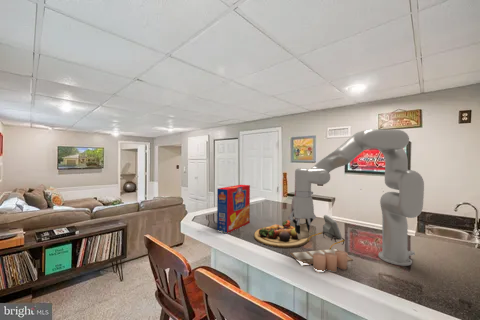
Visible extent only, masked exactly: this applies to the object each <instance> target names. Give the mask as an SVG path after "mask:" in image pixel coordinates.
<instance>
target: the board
mask: <svg viewBox="0 0 480 320" xmlns="http://www.w3.org/2000/svg"><path fill="white" fill-rule="evenodd" d="M337 250H338V249H337V248H331V249H330V248H329V249H319V250H309V251H308V250H307V251H298V252H297V251H296V252H289V255H290V254H291V255H292V256H293V257H294V258H296V259H298V260H300V261H302V262H303V263H308V264H313V254H314V253H321V254H324V253H327V252H330V253H334V254H335V251H337ZM291 255H290V256H291ZM292 256H291V257H292ZM293 257H292V258H293ZM294 258H293V259H294ZM350 261H351V262H352V261H354V258H352V257H350V256H348V262H350Z"/></svg>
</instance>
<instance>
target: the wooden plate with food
mask: <svg viewBox="0 0 480 320" xmlns="http://www.w3.org/2000/svg"><path fill="white" fill-rule="evenodd" d="M253 237H254V239H255V241H257V242H258V243H259V242H260V243H259V244H261V243H263V244H262V245H264V244H265V245H264V246H267V245H269V246H268V247H270V246H273V247H272V248H276V247H279V248H278V249H294V248H300V247H302V246H304V245H306V244H307V243H308V242H309V241H308V240H309V237H308V238H306V239H298V236H297V232H296V231H295V226H293V225H291V220H290V219H287V220H285V221H282V223H281V225H280V224H275V223H274V224H272V225H270V226H265V227H261V228H258V229H257V230H256V231H255V232H254V233H253Z"/></svg>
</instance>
